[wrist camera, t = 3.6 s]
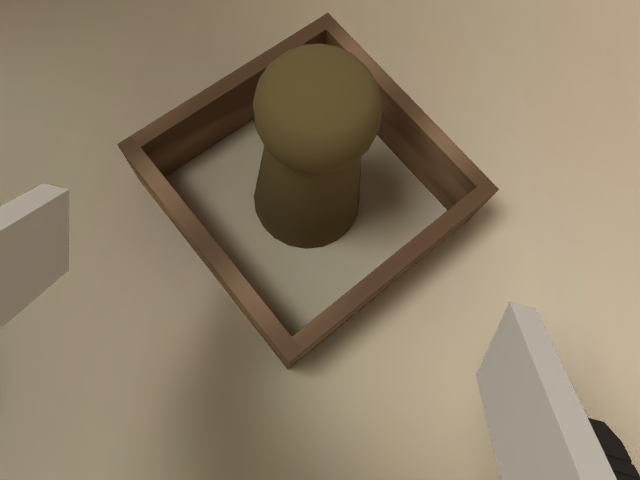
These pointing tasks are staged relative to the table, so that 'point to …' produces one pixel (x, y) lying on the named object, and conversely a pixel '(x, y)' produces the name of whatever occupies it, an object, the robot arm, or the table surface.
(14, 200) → the robot arm
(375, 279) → the walnut box
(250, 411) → the table surface
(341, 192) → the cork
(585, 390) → the table surface
